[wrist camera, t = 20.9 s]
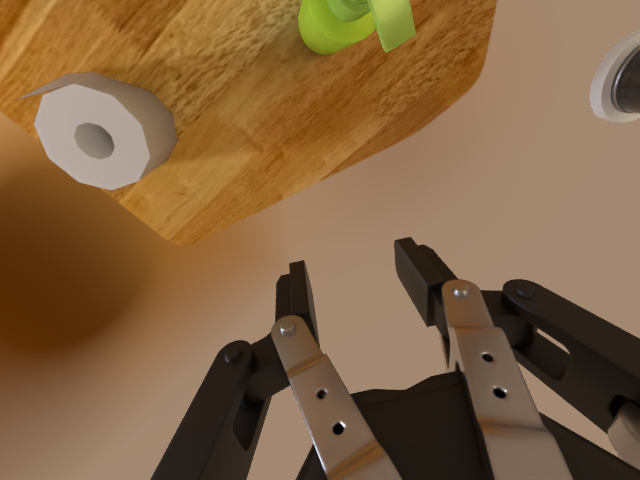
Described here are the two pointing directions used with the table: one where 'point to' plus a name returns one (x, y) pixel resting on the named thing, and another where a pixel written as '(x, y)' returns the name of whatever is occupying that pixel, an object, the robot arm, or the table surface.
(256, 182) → the table surface
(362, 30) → the soap dispenser
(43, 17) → the table surface
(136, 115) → the toilet tissue
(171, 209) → the table surface
